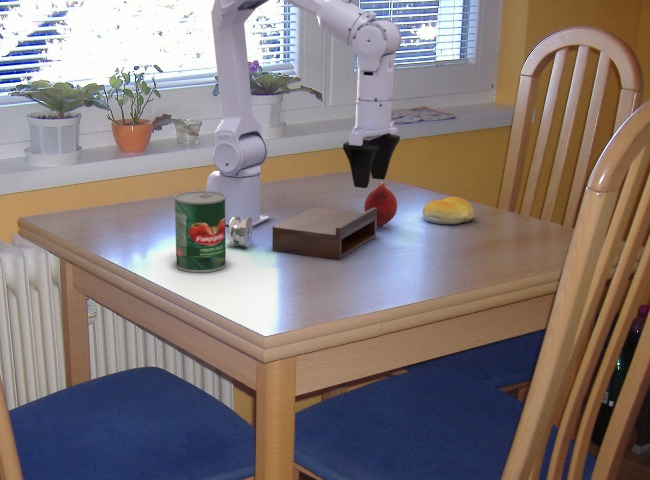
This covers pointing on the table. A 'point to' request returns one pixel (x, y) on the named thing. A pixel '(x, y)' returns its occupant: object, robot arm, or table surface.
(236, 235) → the grooved metal pulley
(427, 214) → the bread roll
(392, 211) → the red squash
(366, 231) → the shelf
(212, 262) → the canned tomato
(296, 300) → the table surface
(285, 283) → the table surface
